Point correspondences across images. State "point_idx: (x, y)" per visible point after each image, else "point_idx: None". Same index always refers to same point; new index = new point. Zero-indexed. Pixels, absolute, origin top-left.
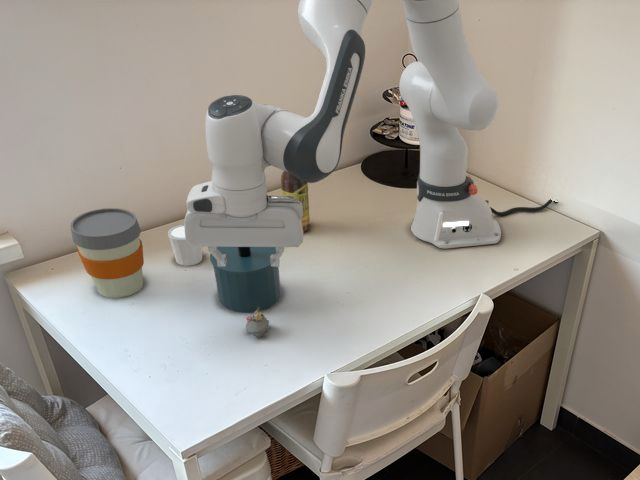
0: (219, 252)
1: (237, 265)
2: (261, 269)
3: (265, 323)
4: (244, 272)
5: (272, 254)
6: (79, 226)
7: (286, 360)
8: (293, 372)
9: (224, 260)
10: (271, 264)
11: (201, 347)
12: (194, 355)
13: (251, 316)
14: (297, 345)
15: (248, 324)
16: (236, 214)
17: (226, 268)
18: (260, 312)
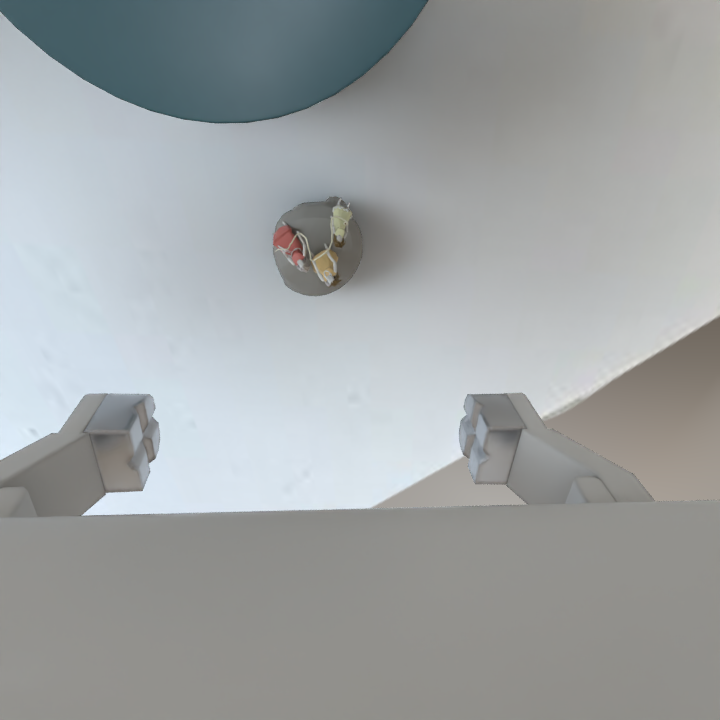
0: (69, 458)
1: (170, 15)
2: (350, 83)
3: (350, 262)
4: (240, 121)
5: (499, 430)
6: None
7: (411, 380)
8: (427, 425)
9: (142, 484)
10: (468, 454)
11: (134, 312)
12: (126, 350)
13: (296, 259)
14: (449, 315)
15: (285, 267)
16: None
17: (100, 64)
18: (332, 235)
